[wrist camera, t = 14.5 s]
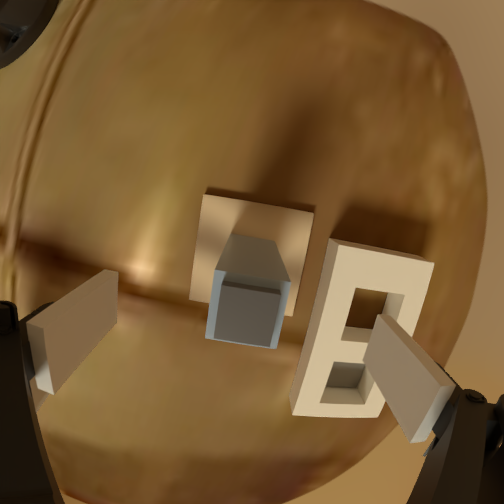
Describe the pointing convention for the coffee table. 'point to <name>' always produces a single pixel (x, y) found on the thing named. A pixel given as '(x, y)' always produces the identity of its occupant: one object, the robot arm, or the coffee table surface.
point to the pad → (253, 225)
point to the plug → (248, 293)
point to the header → (353, 328)
